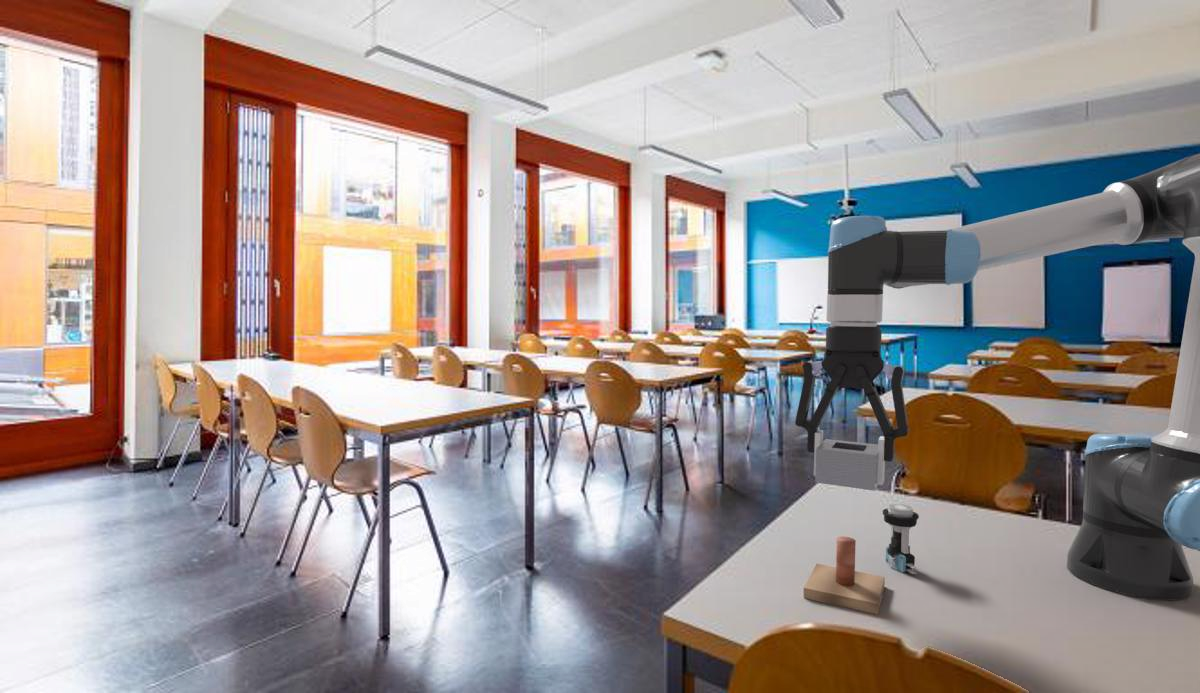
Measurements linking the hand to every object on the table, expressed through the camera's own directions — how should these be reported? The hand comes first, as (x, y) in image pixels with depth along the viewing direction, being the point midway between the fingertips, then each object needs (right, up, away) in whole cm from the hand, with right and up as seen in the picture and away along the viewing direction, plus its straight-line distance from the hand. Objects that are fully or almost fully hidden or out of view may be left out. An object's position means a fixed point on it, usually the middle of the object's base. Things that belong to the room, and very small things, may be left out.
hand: (848, 478), depth 92 cm
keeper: (0, -17, +1) cm, 17 cm away
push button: (+13, -17, +10) cm, 23 cm away
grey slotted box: (0, 0, 0) cm, 0 cm away
